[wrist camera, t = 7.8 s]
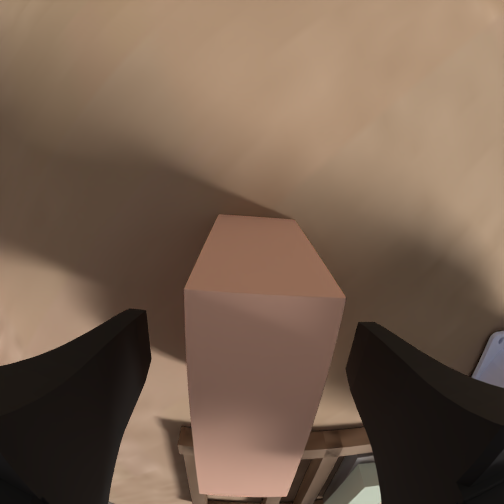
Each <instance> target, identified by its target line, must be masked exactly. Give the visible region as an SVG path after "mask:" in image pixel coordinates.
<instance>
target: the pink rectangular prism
mask: <svg viewBox="0 0 504 504" xmlns="http://www.w3.org/2000/svg"><path fill="white" fill-rule="evenodd" d="M345 302H346V297H345V295H344V293H343V292H342V290H341V289H340V287H339V286H338V284H337V283H336V281H335V279H334V278H333V276H332V275H331V273H330V272H329V270H328V269H327V267H326V266H325V264H324V263H323V261H322V260H321V258H320V256H319V255H318V253H317V252H316V250H315V249H314V247H313V246H312V244H311V243H310V242H309V240H308V239H307V237H306V236H305V234H304V233H303V231H302V230H301V228H300V227H299V225H298V224H297V222H296V221H295V220H294V219H281V218H268V217H253V216H238V215H222V214H219V215H218V217H217V219H216V221H215V223H214V225H213V227H212V229H211V231H210V233H209V236H208V238H207V240H206V242H205V244H204V246H203V248H202V251H201V253H200V255H199V257H198V259H197V261H196V264H195V266H194V268H193V270H192V272H191V274H190V277H189V279H188V281H187V283H186V286H185V288H184V313H185V340H186V360H187V377H188V391H189V404H190V416H191V427H192V437H193V446H194V455H195V464H196V472H197V480H198V487H199V494H207V495H220V496H237V497H287V494H288V492H289V489H290V487H291V484H292V482H293V479H294V477H295V474H296V471H297V469H298V466H299V463H300V460H301V458H302V455H303V452H304V449H305V446H306V444H307V441H308V438H309V435H310V432H311V429H312V426H313V423H314V419H315V416H316V413H317V410H318V407H319V403H320V400H321V397H322V393H323V390H324V386H325V383H326V379H327V376H328V372H329V368H330V365H331V361H332V357H333V353H334V349H335V345H336V341H337V337H338V333H339V329H340V324H341V320H342V316H343V311H344V307H345Z"/></svg>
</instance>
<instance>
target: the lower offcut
mask: <svg viewBox="0 0 504 504" xmlns="http://www.w3.org/2000/svg"><path fill="white" fill-rule="evenodd" d="M364 463H375V460H374V456H373V452H369V453H363V454H355V455H347V456H345V457H344V459H343V461H342V463H341V465H340V467H339V468H338V470H337V472H336V474H335V476H334V478H333V479H332V481H331V483H330V485H329V487H328V488H327V490H326V492H325V493H324V495H323V503H325V502H326V501H327V500H328V499H329V497H330V496H331V495H332V494H333V493H334V492H335V491H336V490H337V489H338V487H339V486H340V485H341V484H342V483H343V482H344V481H345V479H346V478H347V477H348V476H349V475H350V473H351V472H352V471H353V470H354V469H355V467H356V466H357V465H358V464H364Z"/></svg>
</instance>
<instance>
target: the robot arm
mask: <svg viewBox="0 0 504 504" xmlns="http://www.w3.org/2000/svg"><path fill="white" fill-rule="evenodd" d="M150 363H151V351H150V343H149V334H148V324H147V314H146V310H138V309H128V310H125V311H123V312H122V313H120V314H118V315H116V316H115V317H113V318H111V319H110V320H108V321H106V322H104V323H103V324H101V325H99V326H98V327H96V328H94V329H93V330H91V331H89V332H87V333H85V334H84V335H82V336H80V337H78V338H76V339H74V340H72V341H70V342H68V343H66V344H64V345H62V346H60V347H58V348H56V349H53V350H51V351H48V352H46V353H43V354H41V355H38V356H35V357H32V358H29V359H26V360H22V361H19V362H16V363H12V364H8V365H3V366H0V504H108V500H109V494H110V488H111V482H112V477H113V472H114V468H115V463H116V459H117V455H118V451H119V447H120V443H121V440H122V437H123V434H124V431H125V429H126V426H127V424H128V421H129V419H130V417H131V414H132V412H133V410H134V407H135V405H136V403H137V400H138V398H139V396H140V393H141V391H142V389H143V386H144V384H145V381H146V377H147V374H148V370H149V366H150ZM346 373H347V378H348V382H349V386H350V391H351V394H352V396H353V399H354V402H355V404H356V407H357V410H358V412H359V415H360V417H361V420H362V423H363V425H364V428H365V430H366V433H367V436H368V438H369V441H370V445H371V448H372V451H373V456H374V460H375V465H376V470H377V475H378V481H379V487H380V494H381V503H382V504H504V331H499V332H495V333H493V334H492V335H491V336H490V338H489V340H488V343H487V345H486V347H485V350H484V352H483V354H482V356H481V358H480V360H479V363H478V365H477V367H476V369H475V371H474V373H473V375H472V377H469V376H467V375H464V374H462V373H460V372H458V371H456V370H454V369H451V368H449V367H447V366H445V365H443V364H442V363H440V362H438V361H436V360H435V359H433V358H431V357H429V356H428V355H426V354H424V353H423V352H421V351H420V350H418V349H416V348H415V347H413V346H412V345H410V344H409V343H407V342H406V341H404V340H403V339H401V338H400V337H398V336H397V335H395V334H393V333H392V332H390V331H389V330H387V329H386V328H384V327H382V326H381V325H379V324H377V323H375V322H358V326H357V329H356V333H355V337H354V341H353V344H352V348H351V351H350V355H349V358H348V362H347V365H346Z"/></svg>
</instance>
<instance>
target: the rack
mask: <svg viewBox="0 0 504 504" xmlns="http://www.w3.org/2000/svg"><path fill="white" fill-rule="evenodd" d="M178 450H179V454H183V455H184V461H185V467H186V473H187V478H188V483H189V489H190V494H191V499H192V504H324V503H323V499H322V500H315V499H316V498H317V496H318V494H319V492H320V491H321V489H322V487H323V485H324V484H325V482H326V480H327V478H328V476H329V474H330V472H331V471H332V469H333V467H334V465H335V463H336V461H337V459H338V457H339V456H347V455H355V454H363V453H369V452H373V451H372V448H371V445H370V441H369V438H368V436H367V433H366V430H365V428H364V427H362V428H353V429H342V430H330V431H313V432H310V435H309V438H308V441H307V444H306V446H305V449H304V452H303V455H302V458H301V459H312V460H311V462H310V465H309V467H308V470H307V472H306V474H305V477H304V479H303V481H302V483H301V486H300V488H299V490H298V492H297V495H296V497H295V499H294V501H293V502H280V499H281V497H263V498H262V501H261V503H248V502H225V501H212V500H208V497H207V494H199V487H198V480H197V472H196V464H195V455H194V446H193V437H192V428H191V427H183V426H181V431H180V436H179V441H178Z"/></svg>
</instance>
